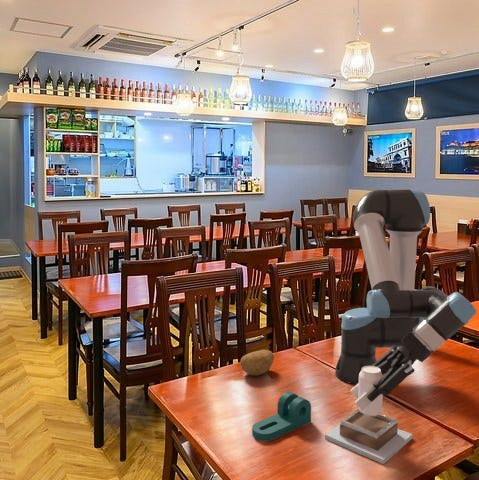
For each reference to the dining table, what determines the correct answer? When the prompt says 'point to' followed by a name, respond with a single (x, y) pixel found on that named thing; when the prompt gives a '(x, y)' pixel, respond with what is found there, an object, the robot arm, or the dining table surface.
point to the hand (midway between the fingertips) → (356, 399)
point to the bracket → (284, 418)
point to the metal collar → (365, 431)
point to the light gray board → (378, 456)
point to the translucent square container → (372, 425)
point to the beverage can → (366, 381)
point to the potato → (257, 362)
